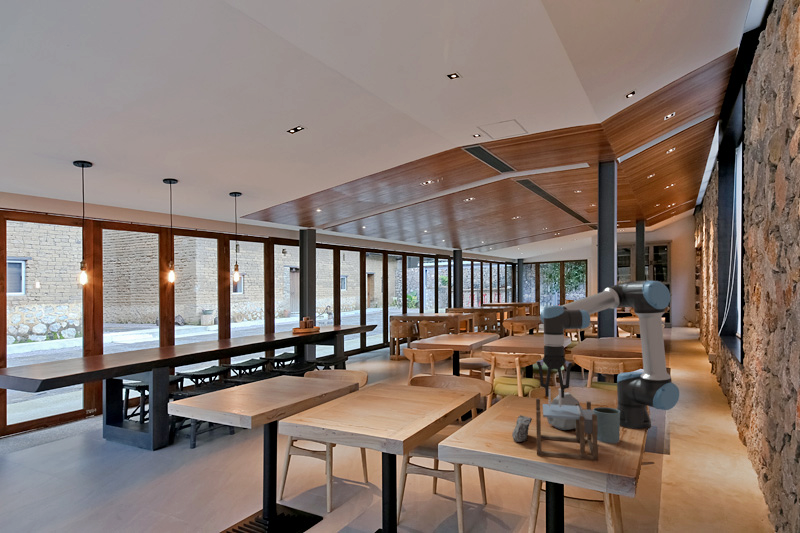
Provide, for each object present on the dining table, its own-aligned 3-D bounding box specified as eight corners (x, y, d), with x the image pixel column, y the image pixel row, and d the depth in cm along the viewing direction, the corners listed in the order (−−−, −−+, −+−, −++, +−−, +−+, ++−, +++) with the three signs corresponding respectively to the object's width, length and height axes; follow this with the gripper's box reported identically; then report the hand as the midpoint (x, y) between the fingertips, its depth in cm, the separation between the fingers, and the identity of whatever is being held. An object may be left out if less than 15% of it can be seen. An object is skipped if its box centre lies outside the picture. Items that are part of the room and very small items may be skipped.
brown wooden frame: (591, 441, 191) (590, 401, 191) (597, 460, 170) (596, 415, 171) (536, 437, 196) (536, 398, 197) (536, 455, 176) (536, 411, 177)
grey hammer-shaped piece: (592, 421, 189) (592, 406, 189) (598, 435, 172) (597, 418, 173) (542, 418, 194) (542, 403, 194) (543, 430, 178) (543, 414, 178)
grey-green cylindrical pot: (618, 445, 186) (618, 414, 187) (591, 441, 192) (591, 411, 192) (622, 438, 195) (621, 408, 195) (596, 434, 200) (595, 405, 201)
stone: (566, 422, 218) (565, 389, 218) (586, 429, 206) (586, 394, 207) (546, 425, 213) (545, 391, 214) (565, 433, 202) (565, 397, 202)
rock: (525, 445, 185) (527, 419, 187) (504, 441, 189) (506, 415, 191) (535, 441, 199) (536, 416, 201) (515, 437, 203) (517, 413, 205)
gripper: (575, 344, 187) (576, 404, 186) (532, 343, 192) (533, 402, 191) (576, 346, 180) (578, 409, 179) (532, 345, 184) (533, 406, 184)
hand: (554, 405), depth 185 cm, fingers open, 3 cm apart
